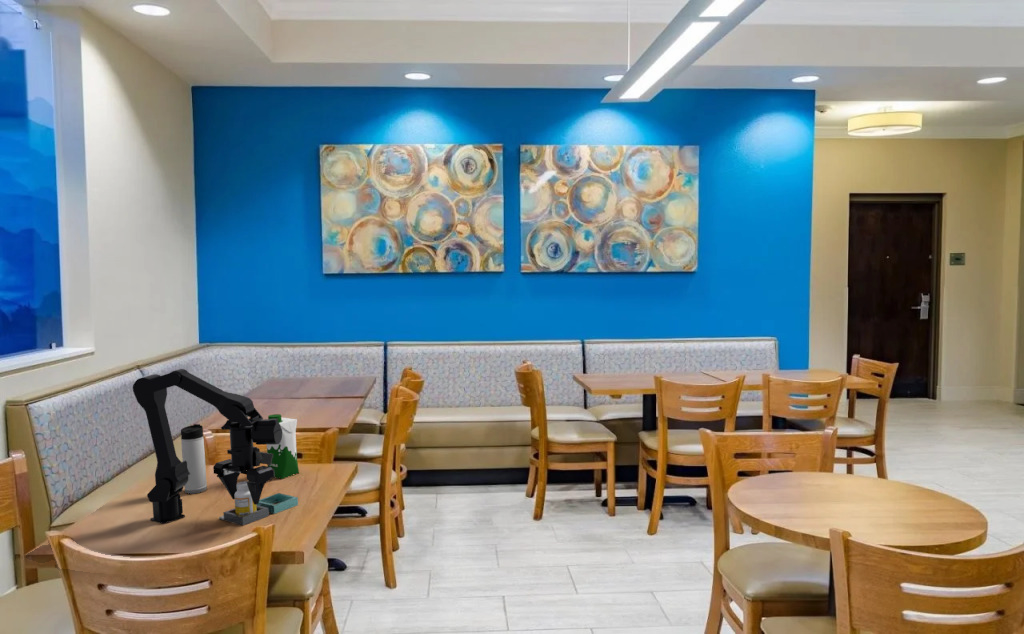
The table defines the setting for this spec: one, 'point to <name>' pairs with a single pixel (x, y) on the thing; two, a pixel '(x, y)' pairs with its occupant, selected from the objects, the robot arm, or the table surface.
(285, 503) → the grey and teal tray
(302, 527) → the table surface
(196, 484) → the travel mug
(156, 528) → the table surface
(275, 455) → the milk carton
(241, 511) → the supplement bottle
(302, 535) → the table surface
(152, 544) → the table surface
